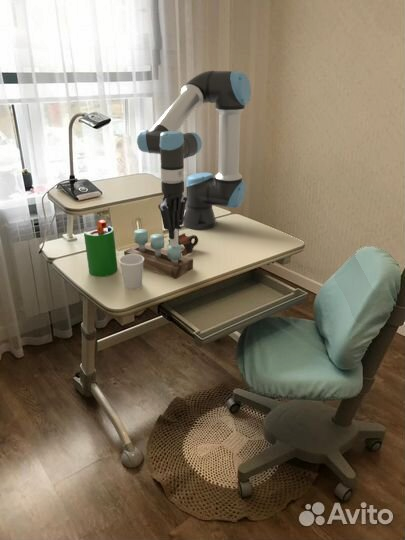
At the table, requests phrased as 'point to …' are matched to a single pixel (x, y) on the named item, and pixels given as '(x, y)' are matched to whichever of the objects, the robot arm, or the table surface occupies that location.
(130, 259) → the dixie cup
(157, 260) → the mount
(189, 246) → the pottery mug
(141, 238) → the knob
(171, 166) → the robot arm
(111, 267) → the green pen holder
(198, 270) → the table surface
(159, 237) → the knob
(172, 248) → the knob
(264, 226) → the table surface
